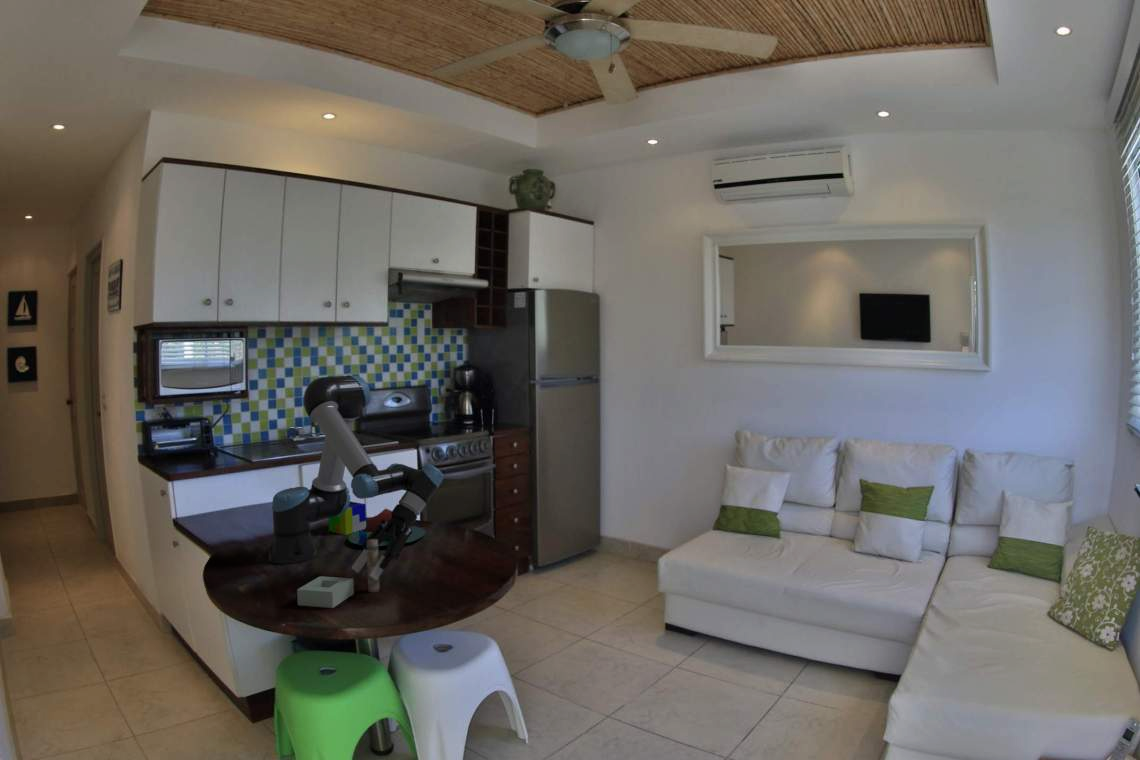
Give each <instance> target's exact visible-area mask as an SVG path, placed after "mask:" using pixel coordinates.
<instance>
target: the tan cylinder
mask: <svg viewBox="0 0 1140 760" xmlns="http://www.w3.org/2000/svg"><path fill="white" fill-rule="evenodd" d="M379 560H380V558H379V546H378V540H377V539H371V540H367V562H366V566H367V587H368V589H367V592H368V593H376V592H377V593H378V592H379V591H380V576H379V577H378V579H377V580H375V579H373V578H372V577H371V576H370V575H369V574H370V573H371V571H372V570H373V568H374V567H375V566H376V564H377V563H378V561H379Z"/></svg>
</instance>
